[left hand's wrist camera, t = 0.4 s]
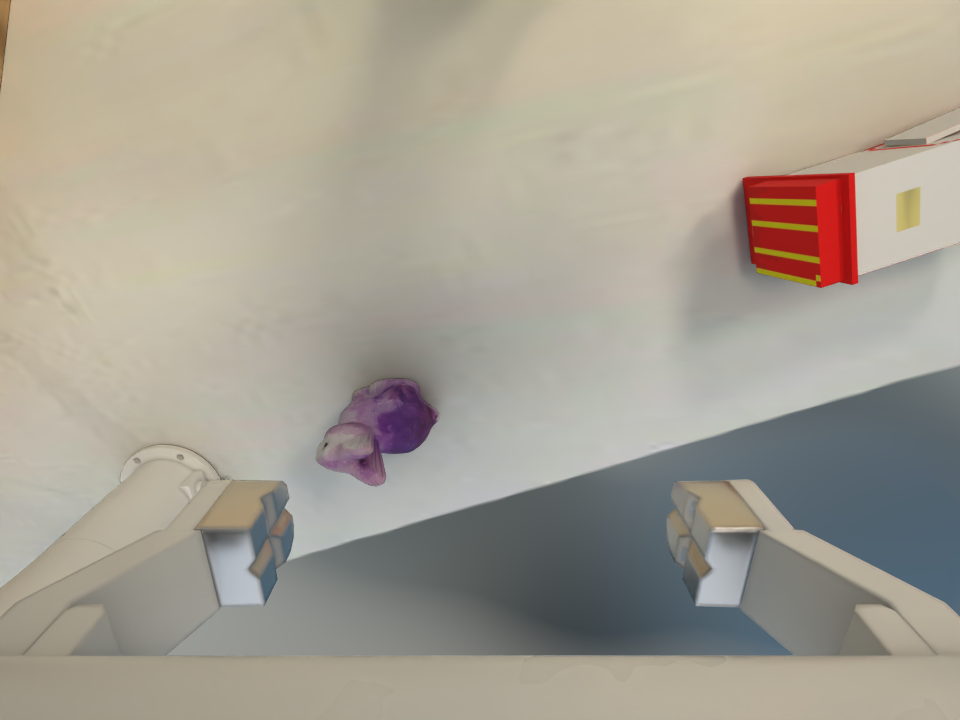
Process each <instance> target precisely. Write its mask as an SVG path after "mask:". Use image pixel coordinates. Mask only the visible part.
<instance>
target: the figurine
mask: <svg viewBox="0 0 960 720" xmlns="http://www.w3.org/2000/svg"><path fill="white" fill-rule="evenodd" d="M352 400H353V402H352V403H351V404H350V405H349V406H348V407H346V408H345V409H344V411H343V412H342V413H341V416H340V419H339V423H338V425H336V426H333V427H332V428H330V429H329V430H328V431H327V433H326V434H325V438H324V440H323V441H322V442H321V443H320V445H319V446H318V449H317V455H316V461H317V463H319V464H320V465H322V466H323V467H325V468H327V469H329V470H332V471H337V472H342V473H348V474H350V475H352V476H354V477H355V478H357V479H358V480H360V481H362V482H364V483H365V484H368V485H371V486H380V485H381V484H383V483H384V482H385V480H386V473H385V468H384V464H383V460H382V455H381V453H387V454H399V453H408V452H411V451H413V450H415V449H416V448H417V447H419V446H420V445H421V444H422V443H423V442H424V441H425V439H426V438H427V436H428V434H429V432H430V430H431V428H432V426H433V425H434V424H435V423H436V422H437V421H438V420H439V418H440V413H439V411H438V410H437V409H436V408H434V407H432V406H430V405H429V404H427V403H426V402H425V401H424V400H423V399H422V397H421V395H420V389H419V386H418V385H417V384H416V383H415V382H413V381H411V380H408V379H384V380H378V381H376V382H374V383H373V384H371V385H370V386H369V387H366V388H363V389H359V390H357V391H355V392H354V393H353V396H352Z"/></svg>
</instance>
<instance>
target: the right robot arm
mask: <svg viewBox="0 0 960 720" xmlns="http://www.w3.org/2000/svg"><path fill="white" fill-rule="evenodd" d="M211 480H220V478H219V476H218V474H217V473H216V471H215V470H214V468H213V467H212V466H211V465H210V464H209V463H208V462H207V461H206V460H204V459H203V458H202V457H201V456H199V455H197V454H196V453H194V452H192V451H190V450H187V449H185V448H182V447H178V446H174V445H153V446H150V447H146V448H144V449H142V450H140V451H138V452H137V453H135V454H134V455H133V456H132V457H131V458H130V459H129V460H128V461H127V462H126V463H125V465H124V466H123V468H122V471H121V475H120V485H118V486H117V487H116V488H115V489H114V490H113V491H112V492H111V493H109V494H108V495H107V496H106V497H105V498H104V499H103V500H102V501H100V502H99V503H98V504H97V505H96V506H95V507H94V508H93V509H91V510H90V511H89V512H88V513H87V514H86V515H85V516H84V517H82V518H81V519H80V520H79V521H78V522H77V523H76V524H74V525H73V526H72V527H71V528H70V529H69V530H68V531H67V532H65V533H64V534H63V535H62V536H61V537H60V538H59V539H58V540H56V541H55V542H54V543H53V544H52V545H51V546H50V547H49V548H48V549H46V550H45V551H44V552H43V553H42V554H41V555H40V556H39V557H38V558H36V559H35V560H34V561H33V562H32V563H31V564H30V565H28V566H27V567H26V568H25V569H24V570H22V571H21V572H20V573H19V574H18V575H17V576H15V577H14V578H13V579H11V580H10V581H9V582H8V583H6V584H5V585H4V586H3V587H1V588H0V617H1V616H2V615H3V614H4V613H5V612H6V611H7V610H8V609H9V608H10V607H11V606H12V605H13V604H14V603H16V602H17V601H19V600H21V599H23V598H25V597H27V596H29V595H31V594H33V593H35V592H37V591H39V590H41V589H43V588H45V587H47V586H49V585H51V584H52V583H54V582H56V581H58V580H60V579H62V578H64V577H66V576H68V575H70V574H72V573H74V572H76V571H78V570H80V569H82V568H84V567H86V566H88V565H90V564H92V563H94V562H96V561H98V560H100V559H102V558H103V557H105V556H107V555H109V554H111V553H113V552H115V551H117V550H119V549H121V548H123V547H125V546H127V545H129V544H131V543H133V542H135V541H137V540H139V539H141V538H143V537H145V536H147V535H149V534H151V533H153V532H154V531H156V530H165V529H166V528H167V527H168V526H169V525H170V524H171V522H172V521H173V520H174V519H175V518H176V517H177V515H178V514H179V513H180V512H181V511H182V510H183V508H184V507H185V506H186V505H187V504H188V503H189V501H190V500H191V499H192V498H193V497H194V496H195V494H196V493H197V492H198V491H199V490H200V489H201V488H202V486H203V485H204V484H205V483H206V482H208V481H211Z"/></svg>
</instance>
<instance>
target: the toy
mask: <svg viewBox="0 0 960 720" xmlns="http://www.w3.org/2000/svg"><path fill="white" fill-rule="evenodd" d="M743 185H744V195H745V204H746V214H747V224H748V233H749V243H750V253H751V262H752V264H756V270H757V273H760V274H765V275H769V276H773V277H777V278H782V279H786V280H790V281H794V282H799V283H803V284H807V285H811V286H816V287H820V288H822V287H825V286H828V285H831V284H835V283H838V282H841V283H846V284H851V285H853V284H856V283H858V276H859V275H862V274H865V273H868V272H871V271H874V270H877V269H880V268H883V267H886V266H890V265H893V264H896V263H899V262H902V261H905V260H908V259H911V258H914V257H917V256H920V255H923V254H926V253H929V252H932V251H935V250H938V249H941V248H945V247H948V246H951V245H954V244H957V243H960V108H958V109H955V110H953V111H951V112H948V113H946V114H944V115H941V116H939V117H937V118H934V119H932V120H930V121H927V122H925V123H923V124H921V125H918V126H916V127H914V128H911V129H909V130H907V131H904V132H902V133H900V134H897V135H895V136H893V137H890V138H888V139H886V140H884V144H881V145H878V146H875V147H872V148H870V149H867V150H865V151H863V152H856V153H853V154H850V155H847V156H844V157H840V158H837V159H834V160H831V161H828V162H825V163H822V164H819V165H815V166H812V167H809V168H806V169H803V170H800V171H797V172H793V173H790V174H787V175H781V176H756V177H746V178H743Z"/></svg>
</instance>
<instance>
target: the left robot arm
mask: <svg viewBox="0 0 960 720" xmlns="http://www.w3.org/2000/svg"><path fill="white" fill-rule="evenodd" d="M288 500H289V494H288V489H287V485H286V484H285V483H284V482H283V481H262V480H211V481H208V482H206V483H205V484H204V485H203V486H202V488H201V489H200V490H199V491H198V492H197V493H196V494H195V496H194V497H193V498H192V499H191V500H190V501H189V503H188V504H187V505H186V506H185V507H184V508H183V510H182V511H181V512H180V513H179V514H178V515H177V517H176V518H175V519H174V520H173V521H172V522H171V524H170V525H169V526H168V527H167V528H166V529H165V530H156V531H154V532H153V533H151V534H149V535H147V536H145V537H143V538H141V539H139V540H137V541H135V542H133V543H131V544H129V545H127V546H125V547H123V548H121V549H119V550H117V551H115V552H113V553H111V554H109V555H107V556H105V557H103V558H102V559H100V560H98V561H96V562H94V563H92V564H90V565H88V566H86V567H84V568H82V569H80V570H78V571H76V572H74V573H72V574H70V575H68V576H66V577H64V578H62V579H60V580H58V581H56V582H54V583H52V584H51V585H49V586H47V587H45V588H43V589H41V590H39V591H37V592H35V593H33V594H31V595H29V596H27V597H25V598H23V599H21V600H19V601H17V602H16V603H14V604H13V605H12V606H11V607H10V608H9V609H8V610H7V611H6V612H5V613H4V614H3V615H2V616H1V617H0V720H960V616H958V615H957V614H956V613H955V612H954V611H953V610H952V609H951V608H950V607H949V606H948V605H947V604H946V603H944V602H942V601H940V600H938V599H937V598H935V597H933V596H931V595H929V594H927V593H925V592H923V591H921V590H919V589H917V588H915V587H913V586H911V585H909V584H907V583H905V582H903V581H901V580H899V579H897V578H895V577H894V576H892V575H890V574H888V573H886V572H884V571H882V570H880V569H878V568H876V567H874V566H872V565H870V564H868V563H866V562H864V561H862V560H860V559H858V558H856V557H854V556H852V555H850V554H849V553H847V552H845V551H843V550H841V549H839V548H837V547H835V546H833V545H831V544H829V543H827V542H825V541H823V540H821V539H819V538H817V537H815V536H813V535H811V534H809V533H807V532H806V531H803V530H795V529H794V528H793V527H792V526H791V525H790V524H789V522H788V521H787V520H786V519H785V518H784V517H783V515H782V514H781V513H780V512H779V511H778V510H777V508H776V507H775V506H774V505H773V504H772V503H771V502H770V500H769V499H768V498H767V497H766V496H765V495H764V493H763V492H762V491H761V490H760V489H759V488H758V486H757V485H756V484H755V483H754V482H752V481H750V480H724V481H681V482H675V484H674V486H673V488H672V494H671V500H672V501H673V503H674V505H675V507H676V508H675V509H674V510H673V511H672V512H671V513H670V514H669V515H668V518H667V526H666V534H667V544H668V547H669V551H670V554H671V556H672V558H673V560H674V562H675V563H676V564H678V565H679V566H680V567H682V568H683V569H684V574H683V581H684V583H685V585H686V587H687V589H688V591H689V593H690V595H691V597H692V599H693V601H694V603H695V605H696V606H717V607H740V609H741V610H742V611H743V612H744V613H745V614H746V615H748V616H749V617H750V618H751V619H752V620H753V621H755V622H756V623H757V624H758V625H759V626H760V627H762V628H763V629H764V630H765V631H766V632H768V633H769V634H770V635H771V636H772V637H773V638H775V639H776V640H777V641H778V642H779V643H780V644H782V645H783V646H784V647H785V648H786V649H787V650H789V651H790V652H791V653H792V654H793V655H795V656H166V655H167V654H168V653H169V652H170V651H171V650H173V649H174V648H175V647H176V646H177V645H179V644H180V643H181V642H182V641H183V640H184V639H186V638H187V637H188V636H189V635H190V634H192V633H193V632H194V631H195V630H196V629H197V628H199V627H200V626H201V625H202V624H203V623H205V622H206V621H207V620H208V619H209V618H210V617H212V616H213V615H214V614H215V613H216V612H217V611H219V610H220V608H219V607H242V606H264V605H265V603H266V601H267V599H268V597H269V595H270V593H271V591H272V589H273V587H274V585H275V583H276V581H277V574H276V569H277V568H278V567H280V566H281V565H282V564H284V563H285V562H286V560H287V558H288V556H289V554H290V552H291V547H292V542H293V538H294V524H293V518H292V515H291V514H290V513H289V512H288V511H287V510H286V509H285V508H284V507H285V505H286V503H287V501H288Z"/></svg>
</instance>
